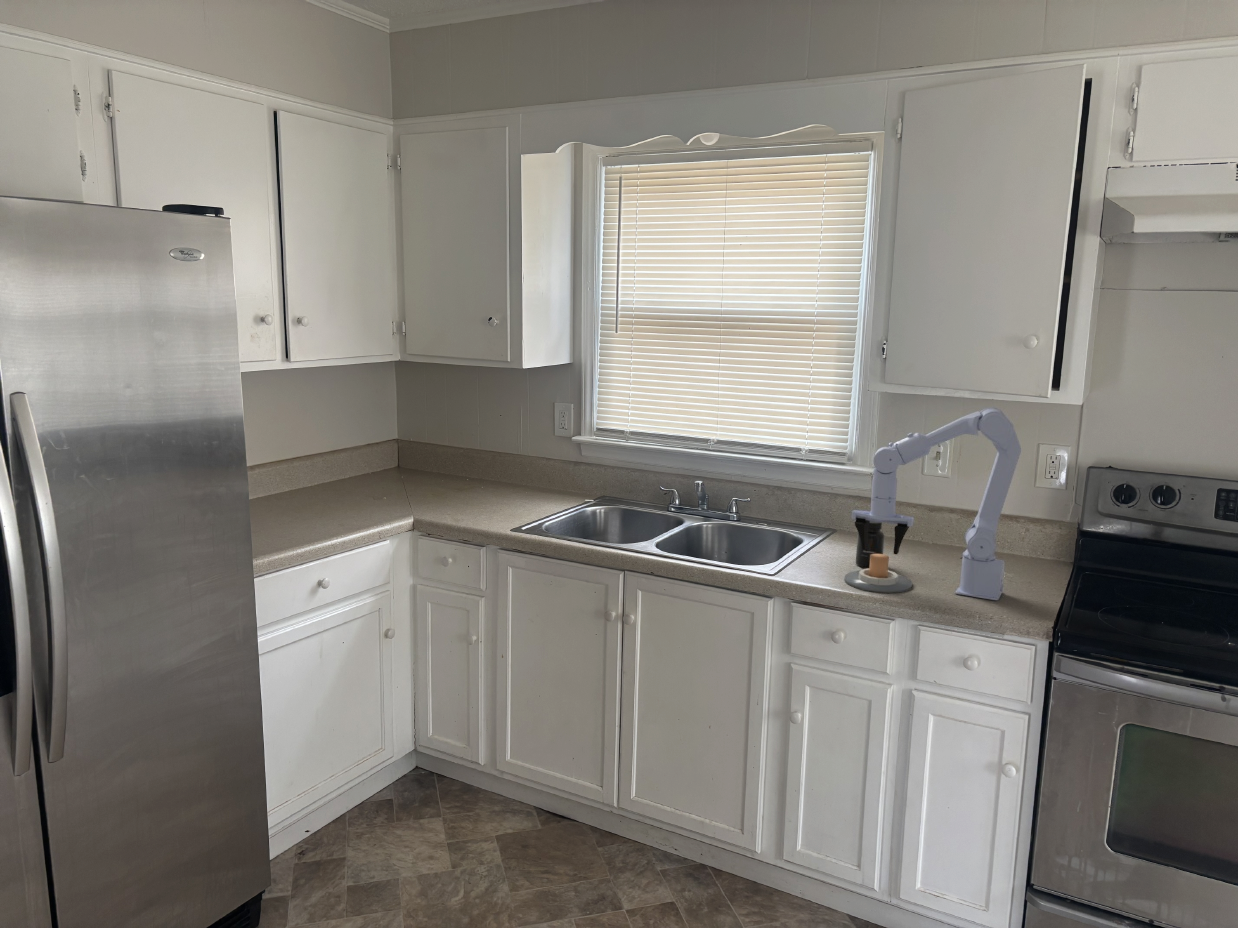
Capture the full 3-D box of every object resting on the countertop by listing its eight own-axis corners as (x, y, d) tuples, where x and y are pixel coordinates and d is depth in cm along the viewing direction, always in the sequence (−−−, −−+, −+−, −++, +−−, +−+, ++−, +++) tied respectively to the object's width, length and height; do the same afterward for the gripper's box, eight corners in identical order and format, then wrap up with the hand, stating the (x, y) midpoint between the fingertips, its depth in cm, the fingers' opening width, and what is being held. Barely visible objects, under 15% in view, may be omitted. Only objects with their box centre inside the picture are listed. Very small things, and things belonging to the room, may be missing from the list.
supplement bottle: (864, 569, 233) (867, 524, 231) (850, 562, 239) (853, 518, 237) (887, 568, 235) (890, 523, 233) (873, 560, 241) (876, 517, 239)
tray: (918, 579, 225) (919, 570, 225) (902, 597, 211) (903, 587, 211) (854, 569, 233) (855, 560, 233) (836, 585, 219) (836, 576, 219)
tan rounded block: (890, 579, 222) (892, 556, 221) (881, 583, 219) (882, 559, 218) (874, 575, 225) (876, 552, 224) (865, 579, 222) (866, 555, 221)
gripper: (918, 497, 218) (914, 551, 221) (858, 490, 225) (855, 543, 228) (911, 502, 212) (907, 558, 215) (850, 495, 219) (847, 549, 222)
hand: (880, 551), depth 221 cm, fingers open, 7 cm apart
